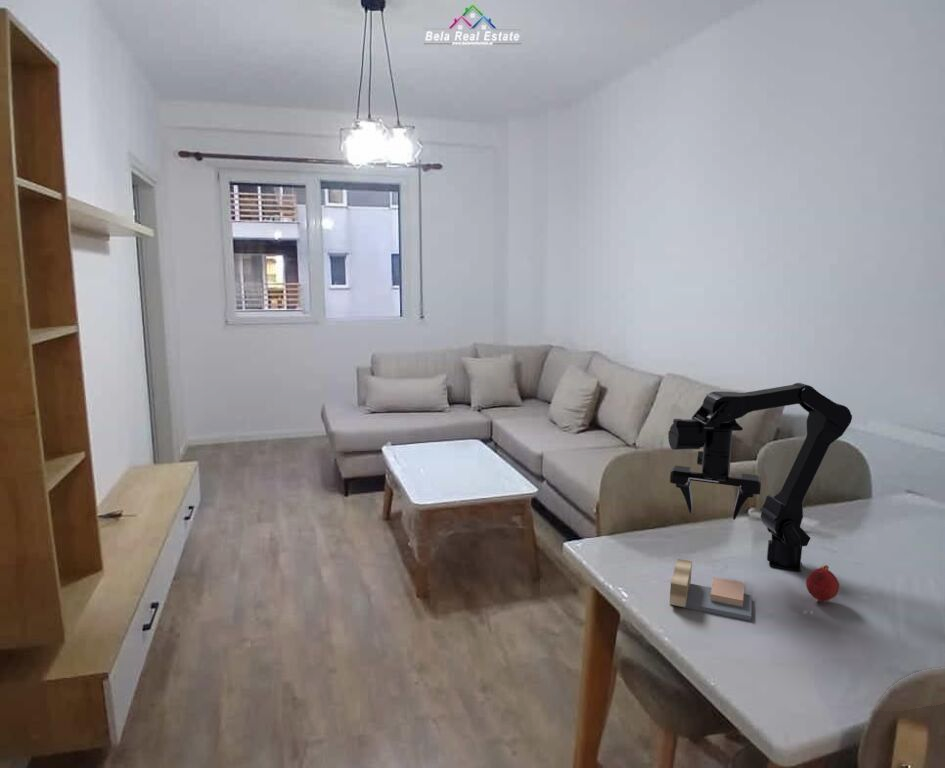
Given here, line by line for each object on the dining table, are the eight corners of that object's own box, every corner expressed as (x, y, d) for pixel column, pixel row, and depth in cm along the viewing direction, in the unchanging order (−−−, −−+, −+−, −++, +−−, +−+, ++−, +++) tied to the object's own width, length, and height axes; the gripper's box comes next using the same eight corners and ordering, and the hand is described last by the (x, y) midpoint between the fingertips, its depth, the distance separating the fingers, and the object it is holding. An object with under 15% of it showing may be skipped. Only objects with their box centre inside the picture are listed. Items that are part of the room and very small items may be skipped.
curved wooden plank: (685, 607, 124) (686, 586, 123) (669, 603, 125) (670, 582, 124) (690, 580, 135) (692, 561, 134) (676, 578, 136) (677, 558, 135)
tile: (744, 582, 131) (743, 600, 123) (743, 589, 131) (742, 608, 124) (713, 577, 133) (710, 594, 126) (712, 584, 133) (710, 601, 126)
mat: (751, 599, 129) (751, 595, 129) (750, 621, 121) (751, 616, 121) (675, 585, 135) (675, 580, 135) (670, 604, 127) (670, 600, 127)
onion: (825, 611, 124) (829, 574, 123) (798, 598, 129) (802, 562, 128) (843, 604, 127) (847, 567, 126) (816, 592, 132) (820, 556, 131)
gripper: (762, 445, 143) (757, 510, 146) (677, 436, 150) (673, 498, 153) (763, 457, 133) (757, 527, 136) (671, 447, 140) (667, 513, 143)
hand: (712, 515), depth 142 cm, fingers open, 9 cm apart
